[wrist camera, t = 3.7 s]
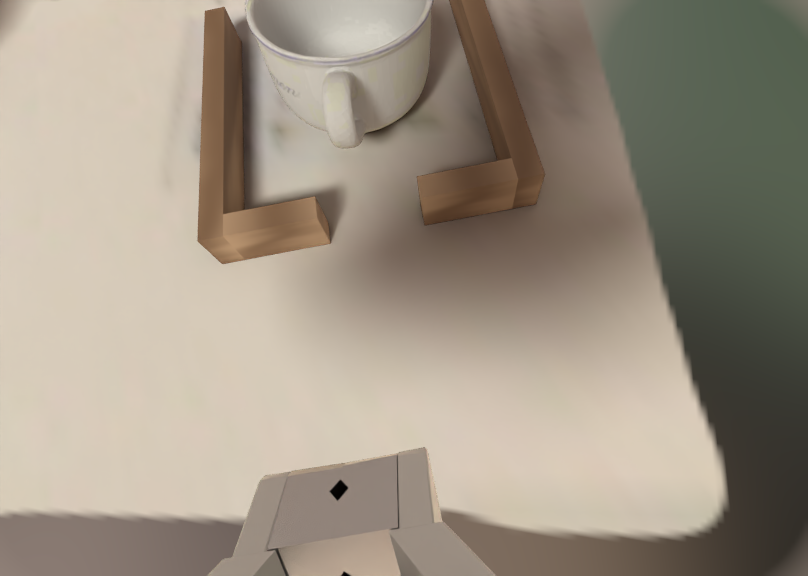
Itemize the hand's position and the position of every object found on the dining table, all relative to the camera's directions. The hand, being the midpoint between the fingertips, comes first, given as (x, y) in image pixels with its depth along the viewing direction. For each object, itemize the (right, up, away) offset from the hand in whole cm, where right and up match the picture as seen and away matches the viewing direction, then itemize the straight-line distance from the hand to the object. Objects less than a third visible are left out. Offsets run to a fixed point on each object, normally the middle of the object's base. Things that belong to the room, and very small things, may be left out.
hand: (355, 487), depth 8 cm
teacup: (-2, +16, +24) cm, 29 cm away
